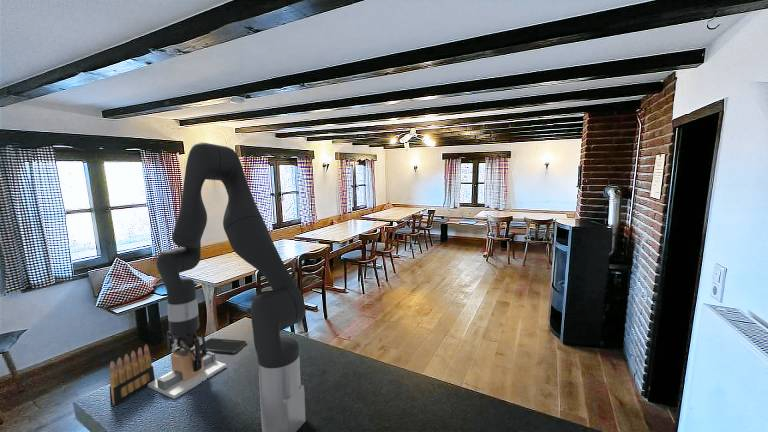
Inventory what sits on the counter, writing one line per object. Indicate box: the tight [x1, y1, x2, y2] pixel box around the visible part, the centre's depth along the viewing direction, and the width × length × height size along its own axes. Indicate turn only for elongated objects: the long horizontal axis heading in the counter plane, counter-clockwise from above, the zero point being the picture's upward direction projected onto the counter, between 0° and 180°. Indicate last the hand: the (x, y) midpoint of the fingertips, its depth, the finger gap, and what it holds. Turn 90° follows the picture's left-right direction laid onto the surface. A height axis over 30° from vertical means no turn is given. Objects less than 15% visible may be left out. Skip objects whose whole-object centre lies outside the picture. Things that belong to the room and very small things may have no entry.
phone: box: [205, 337, 247, 355], centre depth 113 cm, size 8×1×15 cm
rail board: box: [147, 351, 227, 400], centre depth 96 cm, size 12×16×4 cm
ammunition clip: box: [109, 344, 156, 407], centre depth 88 cm, size 11×2×12 cm, turn 162°
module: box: [170, 346, 204, 382], centre depth 95 cm, size 5×6×7 cm
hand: (188, 366), depth 95 cm, fingers open, 8 cm apart
